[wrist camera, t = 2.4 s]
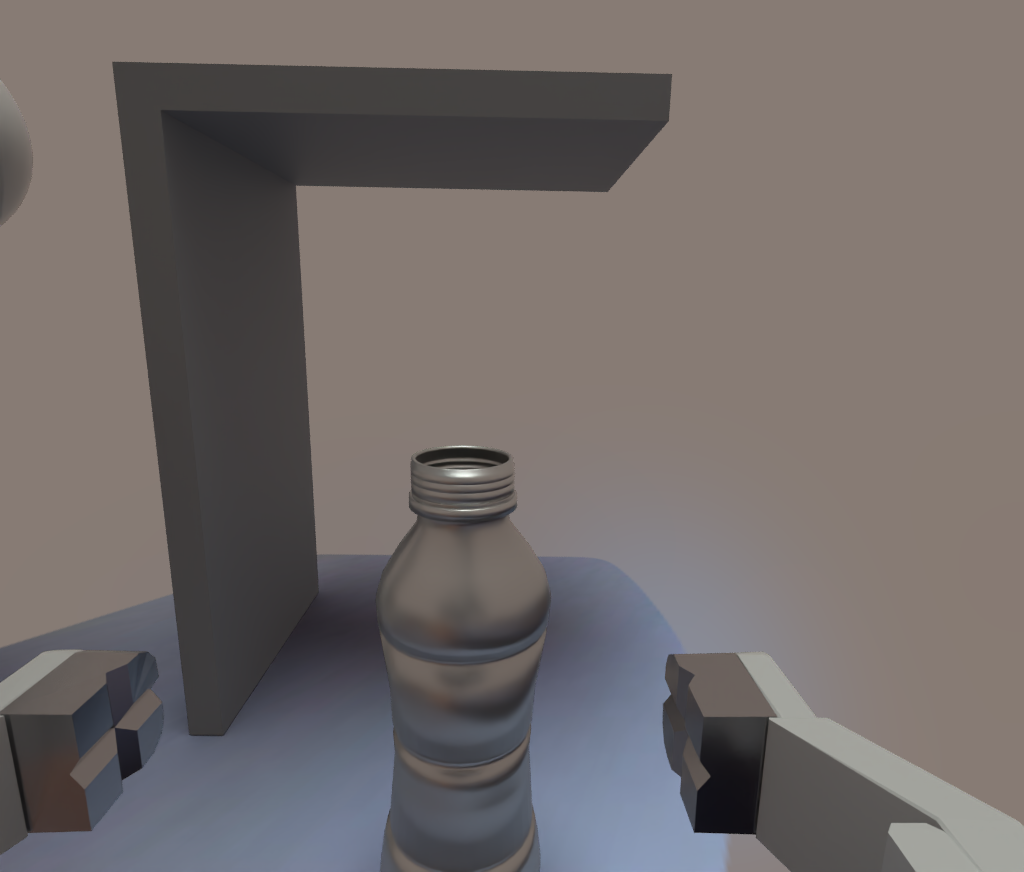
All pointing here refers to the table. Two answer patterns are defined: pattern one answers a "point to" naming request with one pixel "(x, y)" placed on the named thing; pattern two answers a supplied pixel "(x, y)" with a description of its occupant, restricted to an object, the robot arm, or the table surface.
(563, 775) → the table surface
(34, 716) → the robot arm
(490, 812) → the plastic bottle
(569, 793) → the table surface
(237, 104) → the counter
